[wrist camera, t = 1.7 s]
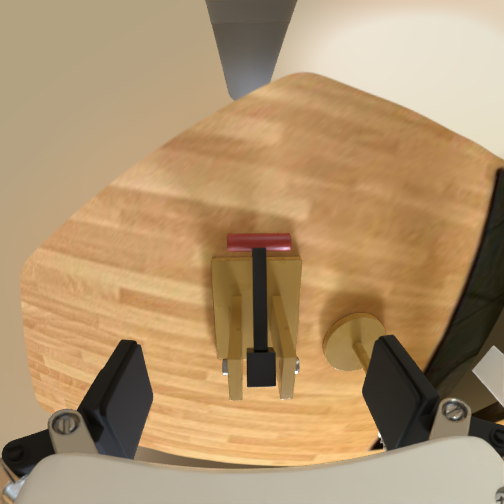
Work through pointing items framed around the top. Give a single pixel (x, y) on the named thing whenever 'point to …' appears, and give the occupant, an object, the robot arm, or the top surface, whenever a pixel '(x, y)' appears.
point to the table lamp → (352, 341)
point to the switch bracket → (241, 317)
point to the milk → (492, 372)
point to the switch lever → (260, 302)
